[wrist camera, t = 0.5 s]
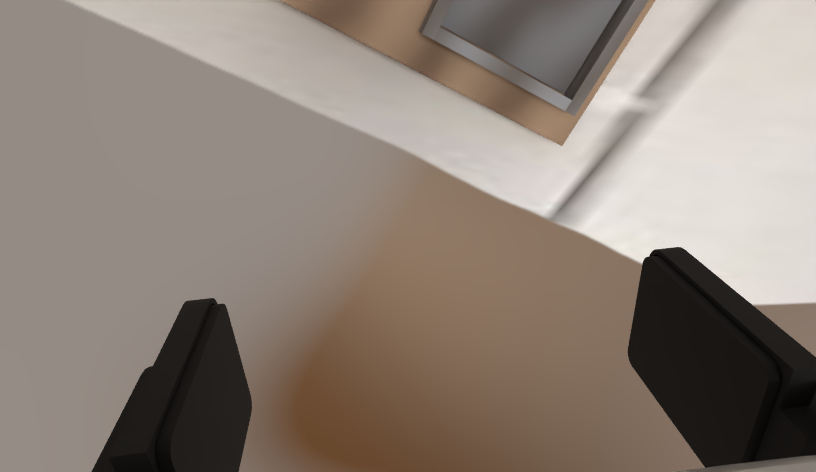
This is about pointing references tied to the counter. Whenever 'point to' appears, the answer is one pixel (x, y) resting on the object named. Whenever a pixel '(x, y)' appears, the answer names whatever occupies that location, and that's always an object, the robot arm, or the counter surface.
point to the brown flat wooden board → (499, 48)
